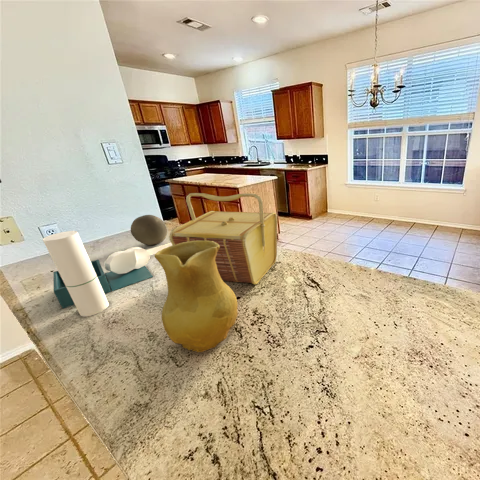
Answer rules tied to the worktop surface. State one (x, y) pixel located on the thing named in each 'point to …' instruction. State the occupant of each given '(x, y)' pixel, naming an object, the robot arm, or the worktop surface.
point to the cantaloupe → (149, 230)
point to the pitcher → (196, 296)
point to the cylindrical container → (76, 272)
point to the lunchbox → (101, 281)
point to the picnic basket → (234, 238)
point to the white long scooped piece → (130, 259)
